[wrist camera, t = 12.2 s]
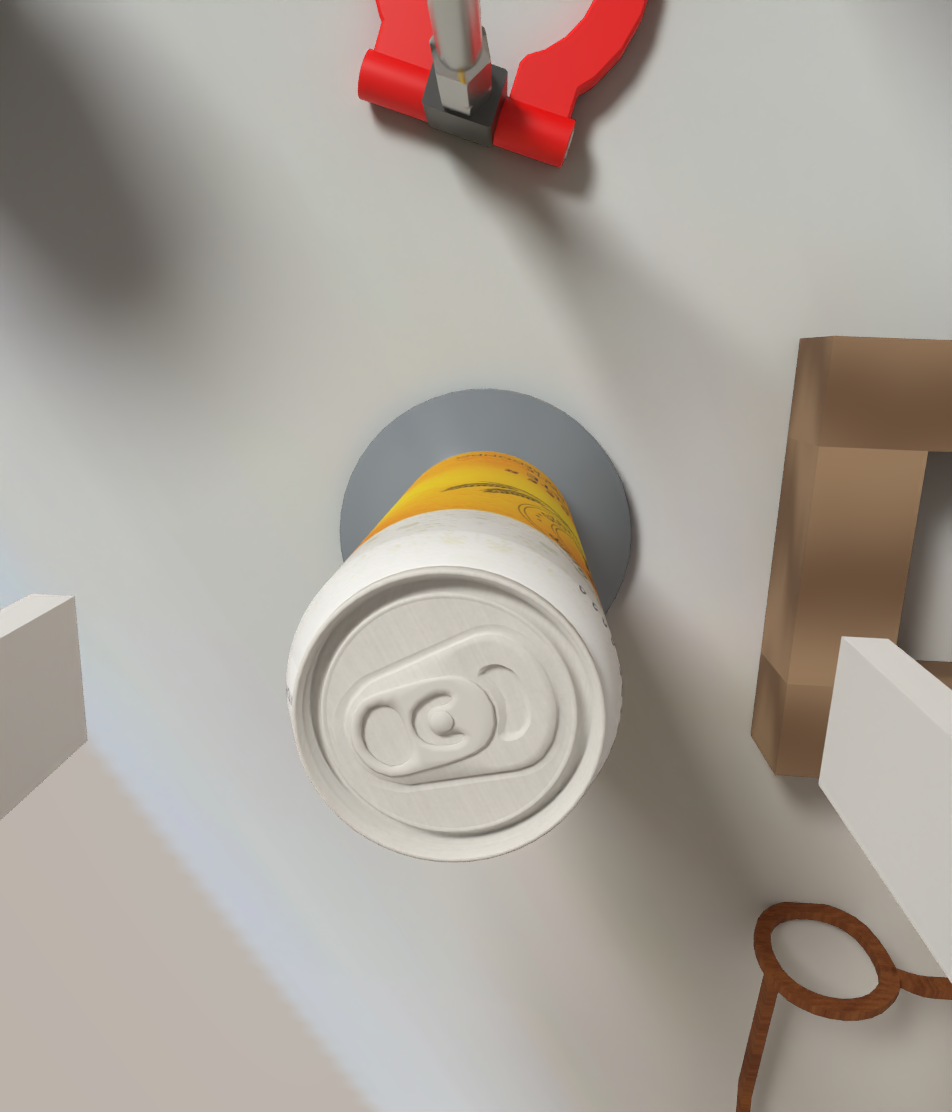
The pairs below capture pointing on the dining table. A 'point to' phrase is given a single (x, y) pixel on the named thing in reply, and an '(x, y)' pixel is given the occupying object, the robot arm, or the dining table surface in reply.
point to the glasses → (817, 1003)
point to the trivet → (503, 429)
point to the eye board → (845, 524)
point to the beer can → (458, 668)
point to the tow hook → (490, 73)
